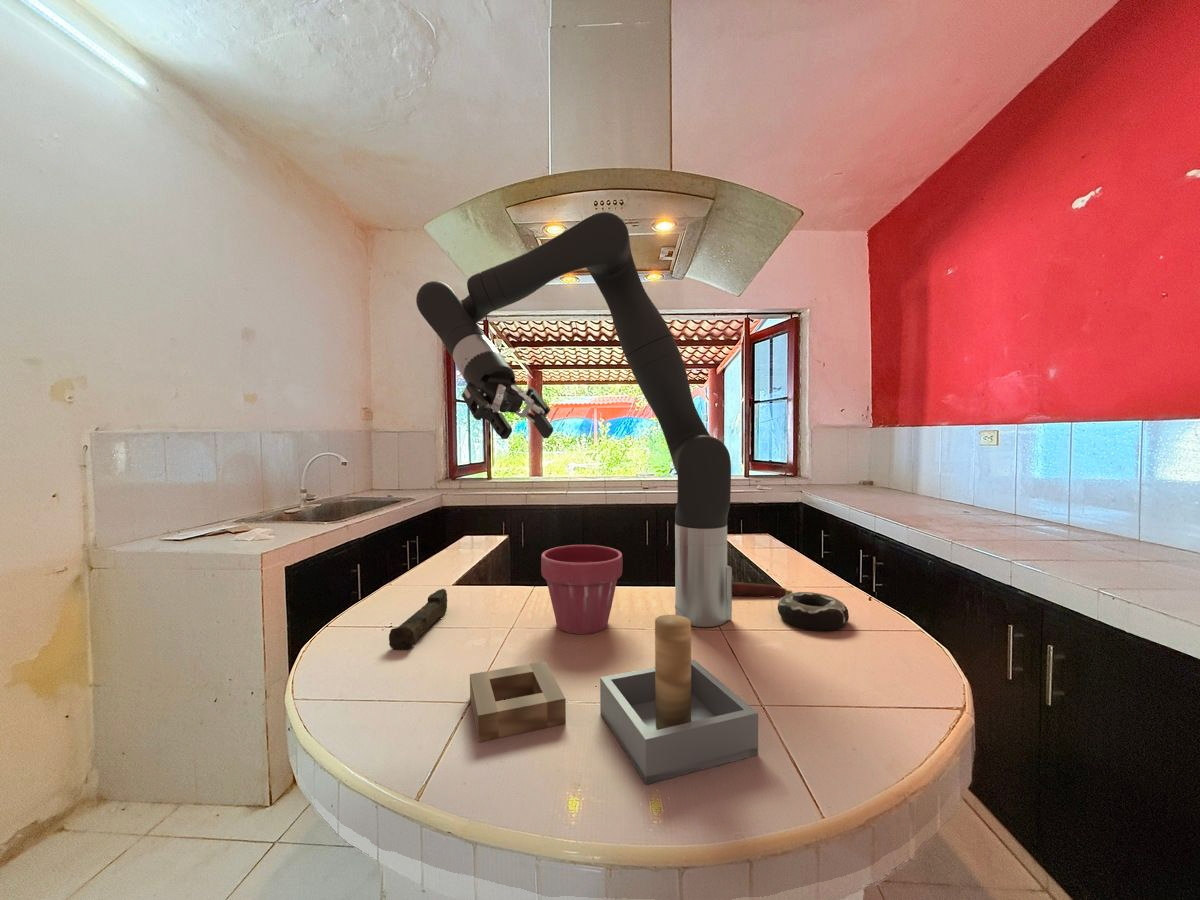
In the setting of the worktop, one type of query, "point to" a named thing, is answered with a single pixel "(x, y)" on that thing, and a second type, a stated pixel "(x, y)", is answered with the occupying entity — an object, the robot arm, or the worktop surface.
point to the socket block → (516, 701)
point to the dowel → (672, 670)
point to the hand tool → (419, 622)
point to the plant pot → (581, 585)
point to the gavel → (758, 590)
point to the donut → (813, 611)
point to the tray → (705, 742)
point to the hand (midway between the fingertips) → (529, 434)
